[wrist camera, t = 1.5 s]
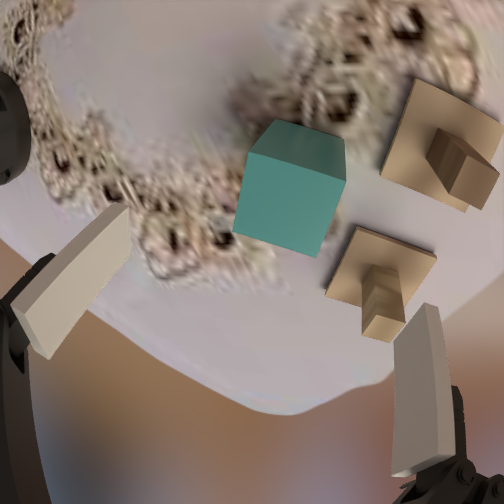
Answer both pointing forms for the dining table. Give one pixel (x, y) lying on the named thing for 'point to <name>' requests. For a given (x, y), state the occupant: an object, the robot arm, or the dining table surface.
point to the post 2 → (444, 148)
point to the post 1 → (379, 280)
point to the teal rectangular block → (291, 187)
